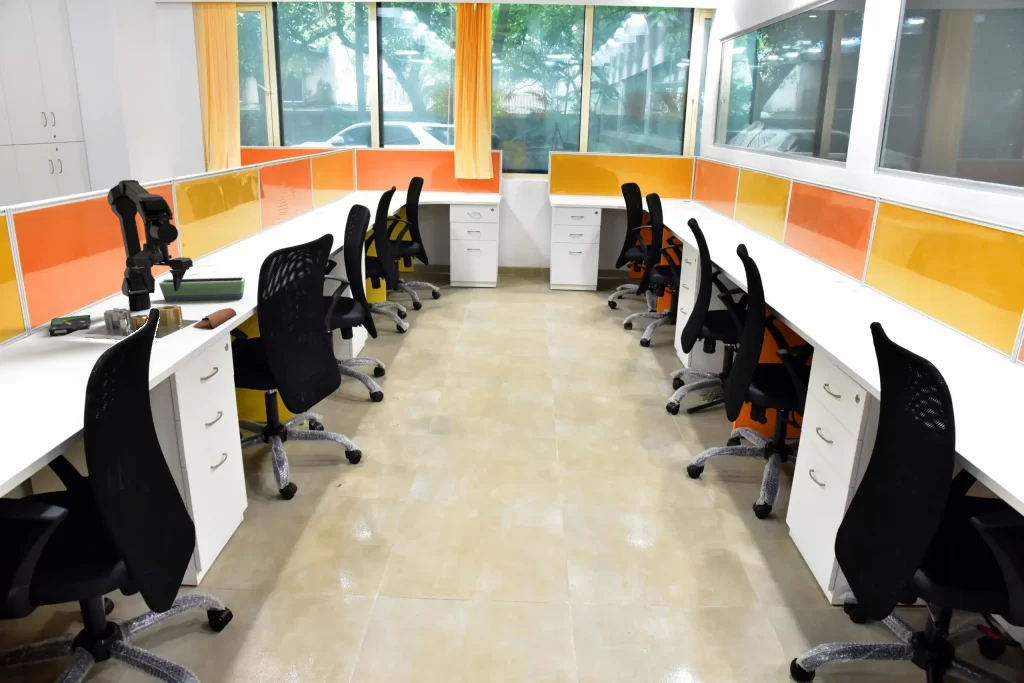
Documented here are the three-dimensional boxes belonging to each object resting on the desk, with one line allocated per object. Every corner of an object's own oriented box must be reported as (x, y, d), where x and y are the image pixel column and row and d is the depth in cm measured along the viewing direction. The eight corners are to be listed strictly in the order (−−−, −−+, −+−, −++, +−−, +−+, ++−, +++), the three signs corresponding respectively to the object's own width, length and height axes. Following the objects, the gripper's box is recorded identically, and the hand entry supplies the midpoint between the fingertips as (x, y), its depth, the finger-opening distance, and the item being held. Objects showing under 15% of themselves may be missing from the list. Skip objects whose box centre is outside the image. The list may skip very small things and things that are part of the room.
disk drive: (90, 334, 214) (91, 322, 227) (89, 325, 213) (89, 313, 226) (49, 339, 209) (52, 326, 222) (48, 329, 209) (51, 317, 221)
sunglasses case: (211, 317, 233) (219, 300, 231) (230, 328, 234) (239, 311, 232) (185, 332, 216) (195, 314, 214) (207, 344, 217) (216, 326, 215)
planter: (247, 296, 263) (245, 276, 261) (244, 300, 257) (242, 280, 255) (165, 298, 257) (163, 279, 255) (160, 303, 251) (158, 283, 249)
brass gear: (166, 318, 227) (165, 304, 225) (187, 319, 226) (185, 305, 224) (153, 323, 220) (151, 309, 219) (174, 325, 219) (172, 311, 218)
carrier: (129, 320, 228) (127, 300, 226) (200, 324, 225) (198, 304, 223) (84, 337, 209) (81, 316, 207) (161, 342, 206) (158, 320, 204)
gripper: (109, 241, 209) (116, 294, 213) (167, 244, 206) (174, 297, 210) (134, 236, 219) (141, 286, 224) (191, 238, 216) (196, 289, 221)
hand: (162, 290), depth 219 cm, fingers open, 9 cm apart
